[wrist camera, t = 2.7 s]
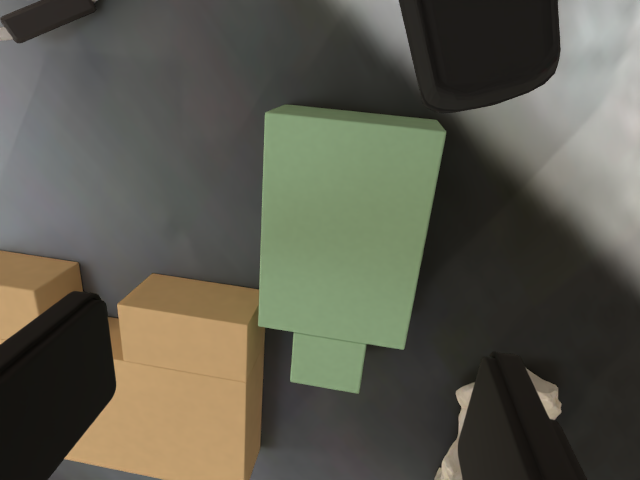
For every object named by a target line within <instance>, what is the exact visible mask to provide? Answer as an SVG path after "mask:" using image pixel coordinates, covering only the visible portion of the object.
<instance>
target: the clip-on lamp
mask: <svg viewBox="0 0 640 480" xmlns="http://www.w3.org/2000/svg"><path fill="white" fill-rule="evenodd" d="M96 1H98V0H41V1H38V2H36V3H34V4H31V5H29V6H26V7H24V8H21V9H19V10H17V11H14V12H12V13H9V14H7V15H4V16H2V17H1V18H0V20H1V23H2V24H3V25H4V27H0V41H2V40H12V39H13V40H14V41H15V42H16V43H23V42H25V41H27V40H30V39H32V38H34V37H37V36H39V35H41V34H44V33H46V32H48V31H51V30H53V29H56V28H58V27H60V26H63V25H65V24H67V23H70V22H72V21H74V20H77V19H79V18H81V17H84V16H86V15H88V14H91V13H93V12H95V11H96V6H95V5H94V2H96Z"/></svg>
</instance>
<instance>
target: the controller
mask: <svg viewBox="0 0 640 480" xmlns="http://www.w3.org/2000/svg"><path fill="white" fill-rule="evenodd" d="M399 3H400V8H401V12H402V16H403V21H404V25H405V29H406V34H407V38H408V42H409V47H410V51H411V55H412V60H413V64H414V68H415V73H416V77H417V81H418V86H419V90H420V94H421V99H422V103H423V104H424V105H425V106H426V108H428V109H430V110H432V111H434V112H439V113H453V112H460V111H465V110H471V109H476V108H481V107H486V106H491V105H495V104H498V103H501V102H504V101H507V100H509V99H512V98H515V97H518V96H521V95H523V94H526V93H529V92H531V91H532V90H534V89H536V88H538V87H540V86H542V85H543V84H545V83H546V82H547V81H548V80H549V79H550V78H551V77H552V76H553V75H554V74H555V71H556V68H557V66H558V62H559V57H560V50H561V49H560V32H559V16H558V0H399Z"/></svg>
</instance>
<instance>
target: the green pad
mask: <svg viewBox="0 0 640 480" xmlns="http://www.w3.org/2000/svg"><path fill="white" fill-rule="evenodd" d="M445 138H446V131H445V130H444V128H443V127H442V126H441V125H440V123H439V122H438V121H437V120H432V119H422V118H413V117H403V116H393V115H384V114H374V113H364V112H355V111H345V110H336V109H326V108H316V107H307V106H297V105H287V104H286V105H283V106H281V107H278V108H275V109H273V110H270V111H268V112H266V113H265V132H264V163H263V193H262V224H261V254H260V285H259V315H258V326H259V327H266V328H272V329H278V330H284V331H290V332H294V334H293V348H292V362H291V376H290V381H291V382H294V383H300V384H306V385H312V386H317V387H323V388H329V389H335V390H340V391H346V392H352V393H359V391H360V384H361V378H362V371H363V365H364V358H365V352H366V345H367V344H371V345H377V346H383V347H390V348H396V349H402V350H403V349H404V348H405V343H406V338H407V333H408V328H409V323H410V318H411V312H412V307H413V302H414V297H415V292H416V287H417V282H418V276H419V271H420V266H421V261H422V256H423V251H424V246H425V240H426V235H427V230H428V225H429V220H430V215H431V210H432V204H433V199H434V194H435V189H436V184H437V179H438V174H439V168H440V163H441V158H442V153H443V148H444V143H445Z"/></svg>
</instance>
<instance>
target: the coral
mask: <svg viewBox="0 0 640 480" xmlns="http://www.w3.org/2000/svg"><path fill="white" fill-rule="evenodd" d="M525 368H526V367H525ZM526 370H527V372H528V374H529V376H530V378H531V380H532V383H533V385H534V387H535V389H536V391H537V393H538V395H539V397H540V399H541V402H542V404H543V406H544V408H545V410H546V412H547V414H548V416H549V419H553V420H555V419H556V418H557V416H558V415H559V414H560V413H561V409H560V408H561V403H560V402H559V400H558V399H557V398H558V387H557V386H556V385H554V384H552V383H550V382H548V381H545V380H543V379H541V378H539V377H538V376H537V375H535V374H533V373H532V372H531V371H529V370H528V369H527V368H526ZM474 384H475V382H474V383H471V384H468V385H465V386H463V387H461V388H459V389H458V390H457V391H456V396H457V400H458V402H459V404H460V405H461V408H462V409H461V412H460V414H459V418H458V419H459V432H458V437H457V439H456V441H455V442H454V443H453V444H452V446H451V447H450V449H449V451H448V453H447V454H446V456H445V457H444V459H443V462H442V468H441V467H439V470H438V471H437V474H436V477H435V479H434V480H463V479H462V474H461V469H460V464H459V459H458V441H459V437H460V433H461V430H462V426H463V423H464V419H465V416H466V412H467V408H468V405H469V401H470V398H471V394H472V391H473V387H474Z"/></svg>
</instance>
